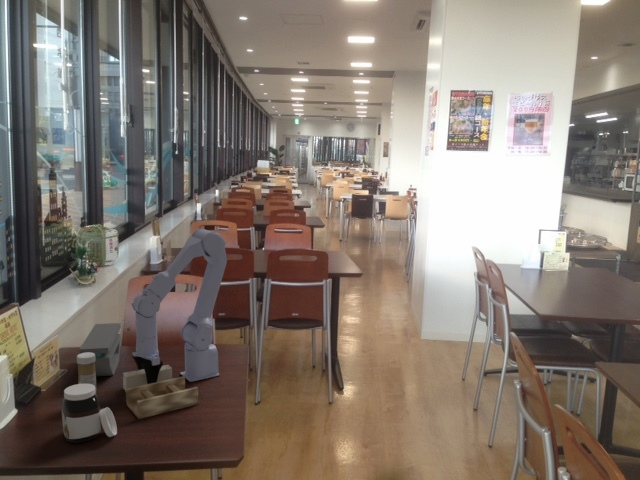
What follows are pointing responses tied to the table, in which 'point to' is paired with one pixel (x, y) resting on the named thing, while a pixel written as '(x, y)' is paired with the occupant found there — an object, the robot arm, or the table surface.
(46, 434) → the table surface
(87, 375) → the sprinkles bottle
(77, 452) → the table surface
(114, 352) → the grey long box
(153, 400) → the wooden compartment tray
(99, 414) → the spread jar
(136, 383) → the grayish beige rectangular block
